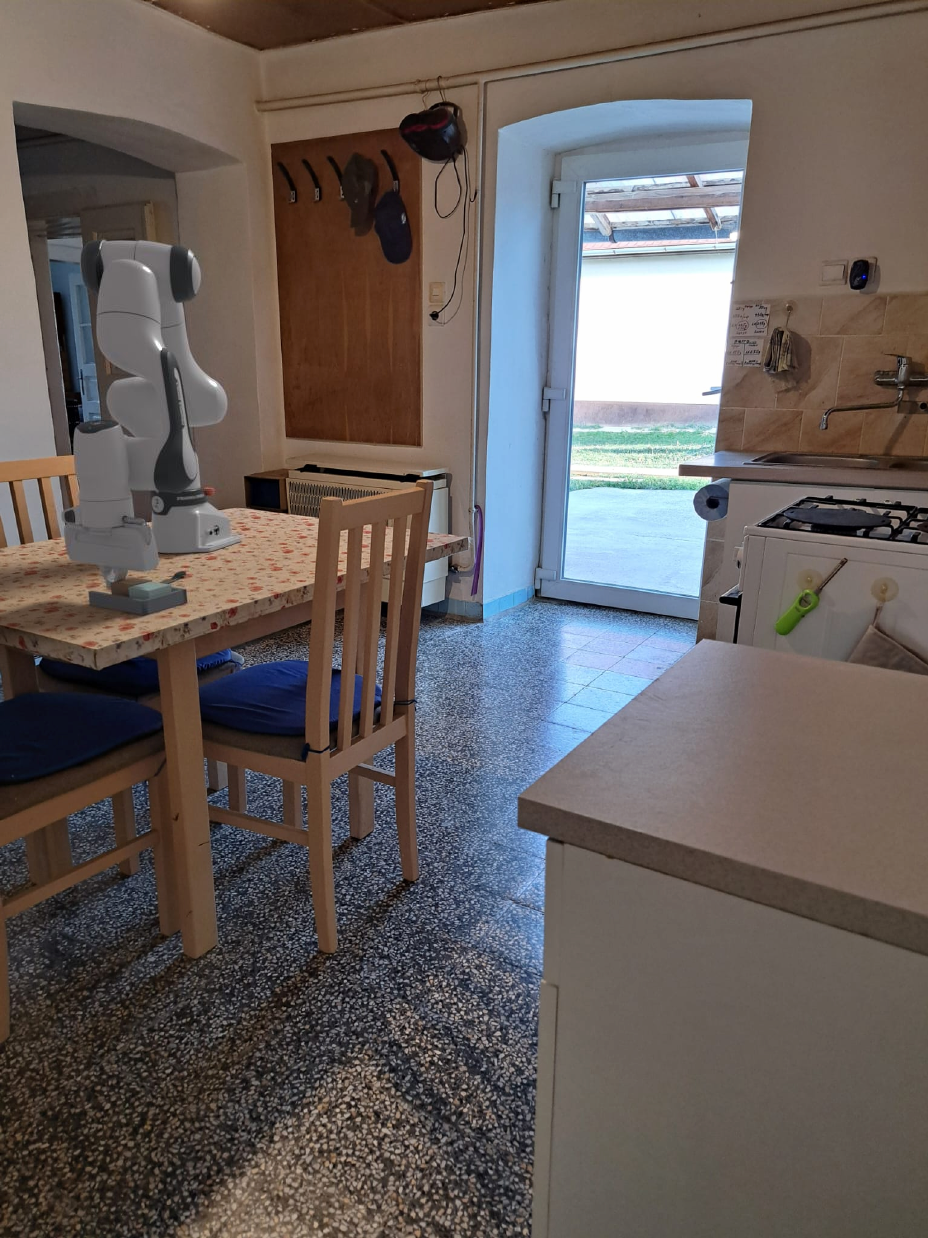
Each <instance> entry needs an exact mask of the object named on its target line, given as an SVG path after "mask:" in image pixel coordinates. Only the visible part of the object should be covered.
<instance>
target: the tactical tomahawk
mask: <svg viewBox="0 0 928 1238" xmlns="http://www.w3.org/2000/svg"><path fill="white" fill-rule="evenodd" d="M186 575H187V571H184V570H181V571H178V572H175V573H174V575H173V576H172V577H170V578H166V579H164V580H162V581H160V582H158V583H163V584H169V585H171V584H172V583H175V582H177V581H180V580H181V579H182V577H183V576H186Z"/></svg>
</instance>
